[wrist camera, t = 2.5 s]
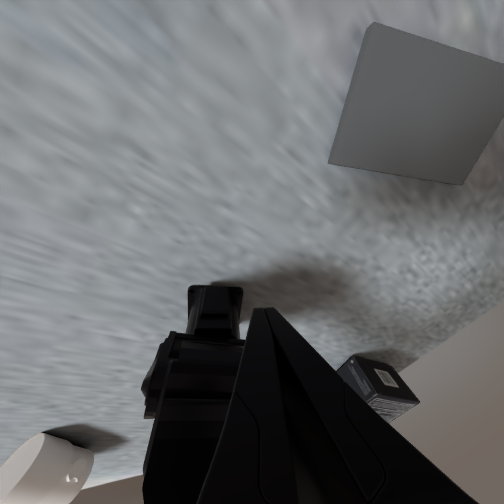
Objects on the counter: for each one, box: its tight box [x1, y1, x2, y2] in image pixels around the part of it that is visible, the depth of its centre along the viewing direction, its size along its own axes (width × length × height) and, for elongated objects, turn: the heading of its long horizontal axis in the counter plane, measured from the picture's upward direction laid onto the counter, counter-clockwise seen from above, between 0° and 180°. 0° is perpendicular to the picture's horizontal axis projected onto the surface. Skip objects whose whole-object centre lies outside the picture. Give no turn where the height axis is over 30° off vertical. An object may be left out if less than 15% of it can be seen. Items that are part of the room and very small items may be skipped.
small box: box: [337, 356, 420, 423], centre depth 33 cm, size 11×6×10 cm
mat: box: [328, 22, 504, 185], centre depth 17 cm, size 9×15×1 cm, turn 82°
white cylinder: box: [0, 433, 94, 504], centre depth 30 cm, size 12×9×8 cm
